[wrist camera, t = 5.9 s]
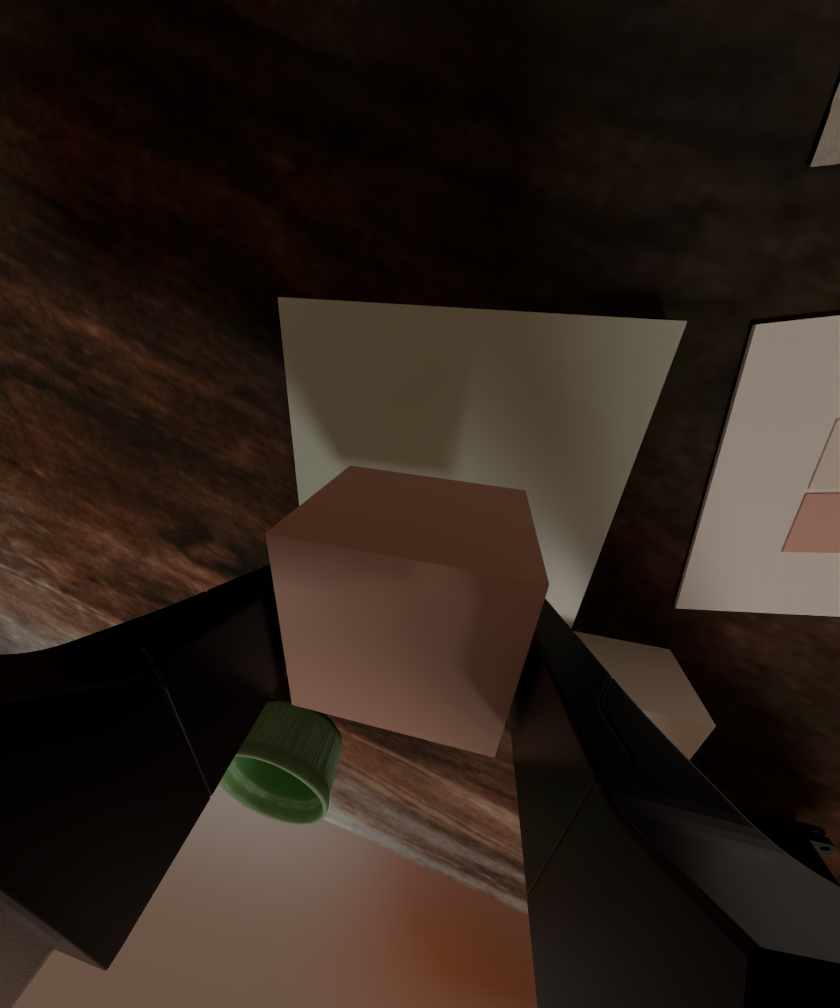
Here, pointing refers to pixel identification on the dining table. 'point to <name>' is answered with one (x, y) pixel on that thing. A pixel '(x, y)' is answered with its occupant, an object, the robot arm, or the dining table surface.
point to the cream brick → (655, 688)
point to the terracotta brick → (409, 603)
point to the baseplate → (481, 408)
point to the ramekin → (286, 765)
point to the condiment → (830, 137)
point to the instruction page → (775, 481)
